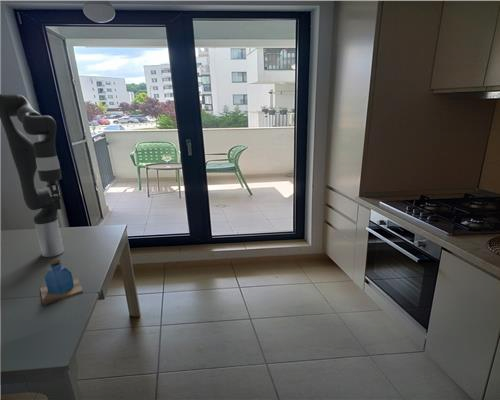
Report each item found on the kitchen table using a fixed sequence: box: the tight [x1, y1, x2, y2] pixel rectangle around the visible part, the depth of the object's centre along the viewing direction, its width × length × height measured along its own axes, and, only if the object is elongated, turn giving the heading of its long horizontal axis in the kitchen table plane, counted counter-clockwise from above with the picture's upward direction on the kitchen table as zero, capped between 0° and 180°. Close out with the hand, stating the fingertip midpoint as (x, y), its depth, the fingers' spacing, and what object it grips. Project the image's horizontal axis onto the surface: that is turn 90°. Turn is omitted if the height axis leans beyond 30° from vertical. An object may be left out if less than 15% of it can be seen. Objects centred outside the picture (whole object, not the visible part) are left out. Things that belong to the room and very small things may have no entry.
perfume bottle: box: [44, 259, 74, 295], centre depth 115 cm, size 6×6×12 cm
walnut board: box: [39, 276, 84, 306], centre depth 116 cm, size 13×13×1 cm
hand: (57, 206), depth 122 cm, fingers open, 8 cm apart
